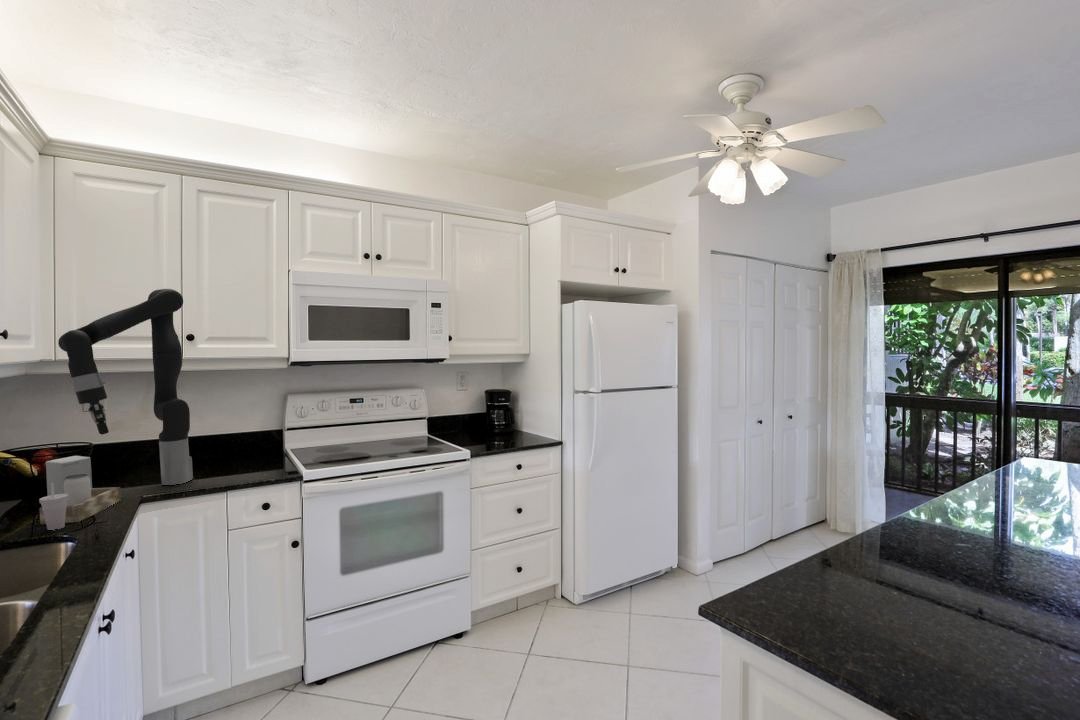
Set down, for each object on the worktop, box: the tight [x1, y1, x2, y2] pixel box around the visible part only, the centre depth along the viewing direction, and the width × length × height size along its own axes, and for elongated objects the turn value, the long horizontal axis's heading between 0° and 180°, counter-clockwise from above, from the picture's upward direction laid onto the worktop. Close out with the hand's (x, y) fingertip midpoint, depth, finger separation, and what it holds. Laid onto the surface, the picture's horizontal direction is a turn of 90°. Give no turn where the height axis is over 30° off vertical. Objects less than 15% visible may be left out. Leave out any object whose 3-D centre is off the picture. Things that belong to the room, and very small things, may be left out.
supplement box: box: [45, 455, 93, 496], centre depth 180 cm, size 9×9×15 cm
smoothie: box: [38, 483, 69, 531], centre depth 155 cm, size 6×6×14 cm
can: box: [64, 474, 91, 506], centre depth 169 cm, size 6×6×12 cm
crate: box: [39, 486, 122, 525], centre depth 169 cm, size 20×10×5 cm, turn 8°
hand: (104, 433), depth 177 cm, fingers open, 8 cm apart
